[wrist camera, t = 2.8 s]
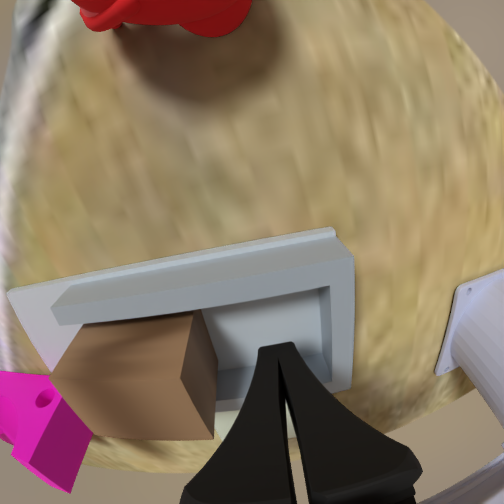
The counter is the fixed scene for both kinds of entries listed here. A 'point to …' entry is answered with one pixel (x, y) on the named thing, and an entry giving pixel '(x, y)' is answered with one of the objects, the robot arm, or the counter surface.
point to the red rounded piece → (166, 14)
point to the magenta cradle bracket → (42, 428)
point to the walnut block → (142, 377)
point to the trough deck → (218, 304)
